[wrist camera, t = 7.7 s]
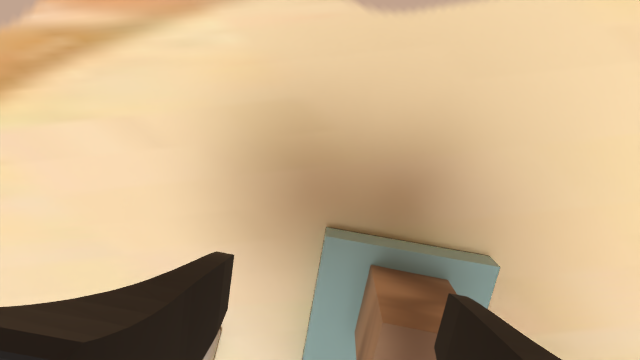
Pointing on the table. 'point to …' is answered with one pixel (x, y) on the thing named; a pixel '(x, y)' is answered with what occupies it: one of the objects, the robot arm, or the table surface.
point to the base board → (351, 276)
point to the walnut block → (400, 315)
